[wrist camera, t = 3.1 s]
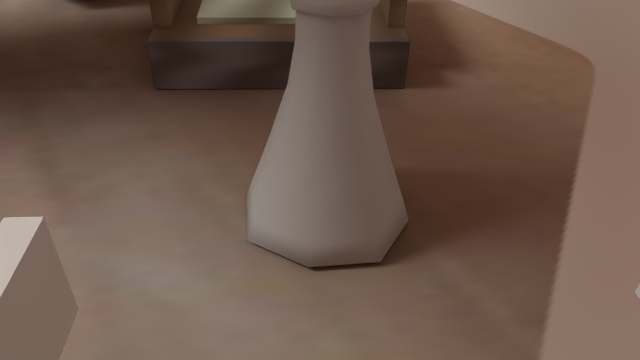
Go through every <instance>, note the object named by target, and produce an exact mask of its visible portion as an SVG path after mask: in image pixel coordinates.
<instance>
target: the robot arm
mask: <svg viewBox="0 0 640 360" xmlns="http://www.w3.org/2000/svg"><path fill="white" fill-rule="evenodd" d="M635 293H636V295H637V296H638V298H639V299H640V283H639V285H638V287H637V289H636V291H635ZM77 311H78V306H77V303H76V301H75V298H74V295H73V293H72V290H71V287H70V285H69V282H68V279H67V277H66V274H65V272H64V269H63V266H62V264H61V261H60V258H59V256H58V253H57V250H56V248H55V245H54V243H53V240H52V237H51V235H50V232H49V229H48V227H47V224H46V221H45V219H44V217H7V218H3V220H2V221H1V223H0V360H59V358H60V355H61V353H62V350H63V347H64V345H65V342H66V339H67V337H68V334H69V332H70V329H71V326H72V324H73V321H74V318H75V316H76V313H77Z"/></svg>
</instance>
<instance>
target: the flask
mask: <svg viewBox="0 0 640 360" xmlns="http://www.w3.org/2000/svg"><path fill="white" fill-rule="evenodd" d="M379 3H380V0H290V4H291V8H292V9H293V10H296V12H295V43H294V49H293V55H292V61H291V67H290V72H289V78H288V84H287V87H286V90H285V92H284V95H283V98H282V101H281V104H280V107H279V110H278V113H277V116H276V119H275V121H274V124H273V127H272V130H271V133H270V136H269V139H268V141H267V144H266V146H265V149H264V151H263V154H262V157H261V159H260V162H259V164H258V167H257V169H256V172H255V174H254V177H253V179H252V182H251V185H250V188H249V191H248V193H247V237H248V241H250V242H252V243H254V244H256V245H259V246H261V247H263V248H265V249H268V250H270V251H272V252H275V253H277V254H279V255H281V256H284V257H286V258H288V259H290V260H293V261H295V262H297V263H299V264H302V265H304V266H306V267H319V266H332V265H345V264H358V263H372V262H381V261H382V259H383V258H384V256H385V255H386V253H387V252H388V250H389V249H390V247H391V246H392V244H393V243H394V241H395V240H396V238H397V237H398V235H399V234H400V232H401V231H402V229H403V228H404V227H405V225H406V224H407V222H408V221H409V219H408V215H407V212H406V208H405V204H404V201H403V197H402V194H401V191H400V187H399V184H398V181H397V177H396V174H395V171H394V167H393V164H392V161H391V158H390V154H389V150H388V147H387V143H386V139H385V135H384V131H383V127H382V123H381V119H380V116H379V112H378V108H377V104H376V100H375V96H374V91H373V81H372V71H371V61H370V51H369V40H370V24H371V15H372V10H373V8H374V7H376V6H377V5H378V4H379Z"/></svg>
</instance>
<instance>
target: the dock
mask: <svg viewBox="0 0 640 360" xmlns="http://www.w3.org/2000/svg"><path fill="white" fill-rule="evenodd" d="M149 2H150V8H151V14H152V20H153V26H154V27H153V29H152V32H151V34H150V36H149V38H148V40H147V46H148V52H149V57H150V63H151V69H152V74H153V80H154V85H155V89H286V87H287V84H288V78H289V72H290V67H291V61H292V55H293V49H294V43H295V12H296V10H293V9H292V8H291V4H290V0H149ZM406 6H407V0H380V3H379V4H378V5H377V6H376V7H374V8H373V10H372V15H371V24H370V40H369V51H370V61H371V71H372V81H373V88H404V85H405V78H406V70H407V62H408V55H409V47H410V40H409V38H408V36H407V33H406V31H405V29H404V22H405V14H406Z"/></svg>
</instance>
